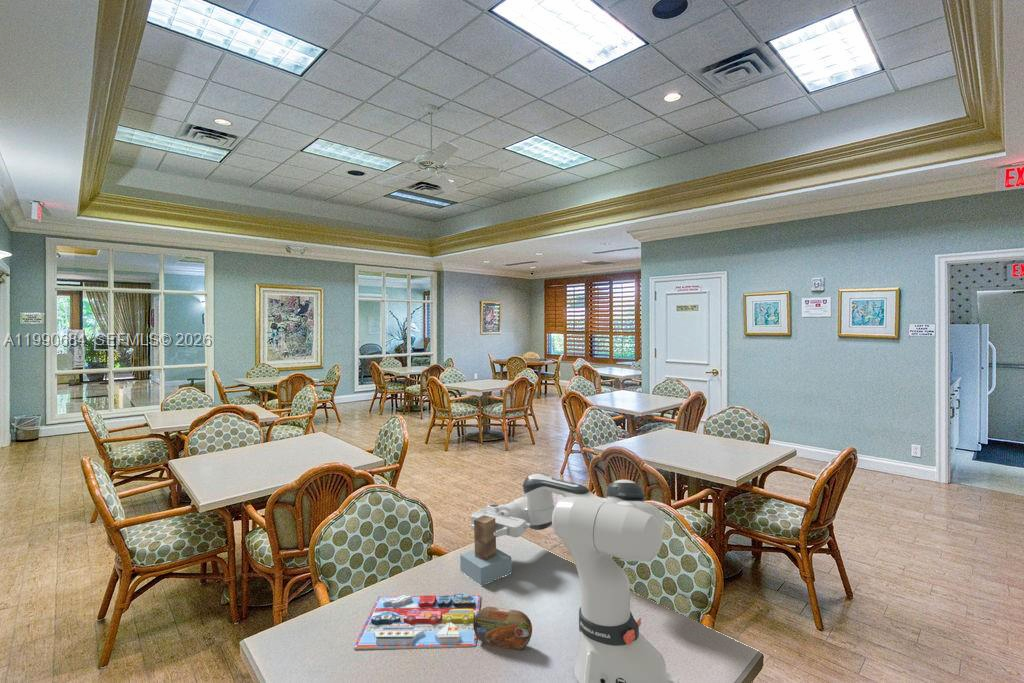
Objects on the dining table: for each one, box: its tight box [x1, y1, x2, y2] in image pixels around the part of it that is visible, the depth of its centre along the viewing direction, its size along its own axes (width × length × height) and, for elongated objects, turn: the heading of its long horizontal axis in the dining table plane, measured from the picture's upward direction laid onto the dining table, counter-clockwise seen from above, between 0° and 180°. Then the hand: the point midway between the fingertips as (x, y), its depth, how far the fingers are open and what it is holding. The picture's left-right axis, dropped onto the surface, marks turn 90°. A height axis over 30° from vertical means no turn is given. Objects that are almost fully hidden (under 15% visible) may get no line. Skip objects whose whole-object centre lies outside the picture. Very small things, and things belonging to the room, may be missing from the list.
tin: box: [473, 606, 533, 650], centre depth 119 cm, size 15×3×8 cm, turn 73°
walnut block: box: [473, 515, 497, 560], centre depth 155 cm, size 5×5×12 cm
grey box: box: [459, 547, 513, 586], centre depth 155 cm, size 12×12×6 cm
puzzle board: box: [353, 593, 482, 651], centre depth 129 cm, size 30×23×3 cm
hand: (483, 531), depth 154 cm, fingers open, 8 cm apart
